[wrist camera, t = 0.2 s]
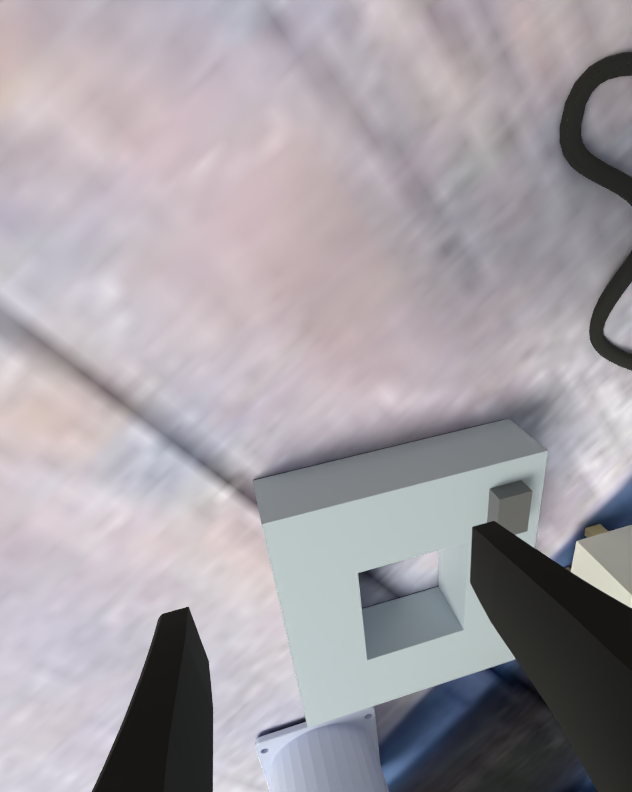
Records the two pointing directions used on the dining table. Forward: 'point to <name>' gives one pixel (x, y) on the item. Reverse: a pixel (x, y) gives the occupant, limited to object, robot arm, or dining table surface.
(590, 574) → the cream rectangular block
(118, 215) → the dining table surface
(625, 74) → the cable
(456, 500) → the socket plate
